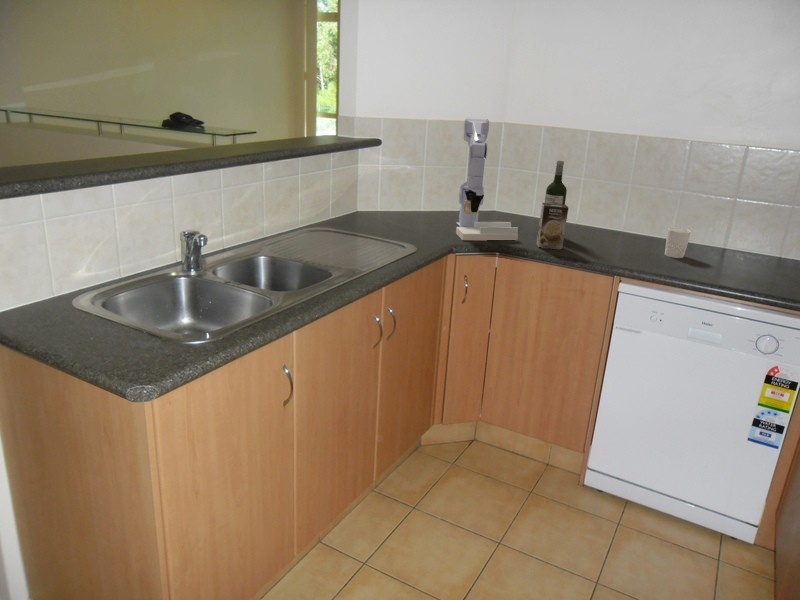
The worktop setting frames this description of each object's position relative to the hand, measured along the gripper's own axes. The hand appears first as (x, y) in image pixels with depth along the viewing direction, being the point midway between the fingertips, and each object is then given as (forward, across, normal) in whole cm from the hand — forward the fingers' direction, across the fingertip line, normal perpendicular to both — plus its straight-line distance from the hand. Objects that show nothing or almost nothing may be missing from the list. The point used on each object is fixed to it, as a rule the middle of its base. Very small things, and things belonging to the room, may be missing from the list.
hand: (472, 210), depth 246 cm
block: (+1, 0, -1) cm, 1 cm away
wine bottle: (+11, -4, +34) cm, 36 cm away
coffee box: (+11, +14, +28) cm, 32 cm away
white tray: (+10, 0, +6) cm, 12 cm away
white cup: (+11, +24, +72) cm, 77 cm away
